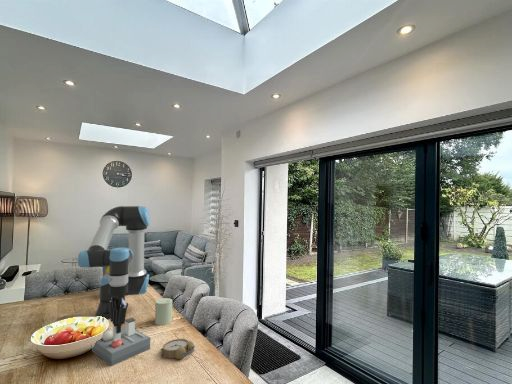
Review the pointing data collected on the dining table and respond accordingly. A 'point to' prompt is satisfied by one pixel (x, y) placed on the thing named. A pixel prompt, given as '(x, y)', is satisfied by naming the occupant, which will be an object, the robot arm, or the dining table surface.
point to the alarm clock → (177, 348)
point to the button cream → (107, 335)
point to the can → (163, 311)
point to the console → (122, 347)
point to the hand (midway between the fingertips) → (116, 339)
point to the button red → (116, 343)
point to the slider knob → (129, 326)
